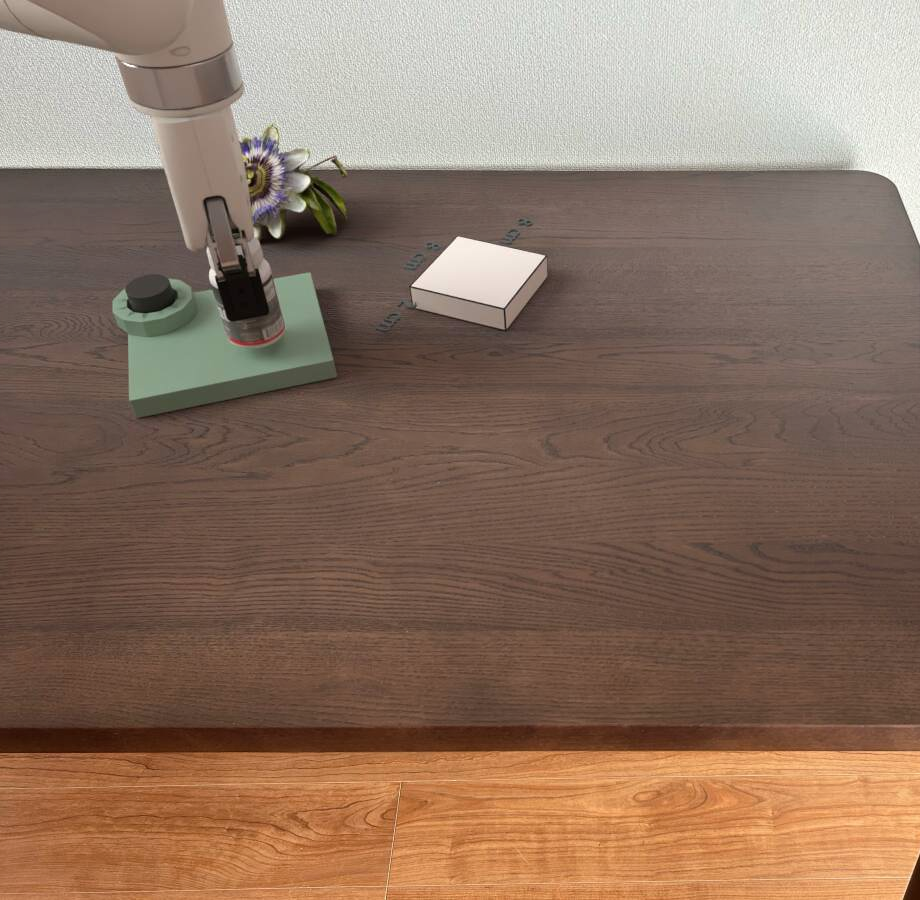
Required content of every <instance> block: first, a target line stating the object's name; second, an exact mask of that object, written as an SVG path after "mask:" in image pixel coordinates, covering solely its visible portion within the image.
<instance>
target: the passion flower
mask: <svg viewBox="0 0 920 900" xmlns="http://www.w3.org/2000/svg"><path fill="white" fill-rule="evenodd" d="M279 134H280V133H279V129H278V128H277V127H276V126H274V123H271V124H270V125H268V126H266V128H265V129H264V131H263V134H262V135H261V136H259V137H257V136H253V138H250V137H248V136H244V137H242V139H241V141H242V142H241V141H240V140H239V143H240V147H241V151H242V156H243V161H244V166H245V171H246V176H247V182H248V189H249V195H250V203H251V210H252V219H253V228H254V237H256V238H257V239H258V241H259V242H261V241H262V239H263V238H264V237H265V236H266V235H265V234H266V231H265V230H266V228H267V229H268V232H269V234H270V235H271V236H272V237H273V238H274V239H276V240H280V239H281V238H282V237H284V236H285V233H286V231H287V230H286V229H287V225H286V224H287V221H286V214H287V212H292V213H297V214H303V213H304V212H305V211H306V210H307V207H308V208H309V211H310V212H311V214H312V216H313V217H314V219H315V220H316V222H317V223H318V225H319V226H320V228H321V230H323V232H324V233H325V234H326V235H332V236H336V235H338V234H337V233H338V229H337V221H336V215H335V213H334V210H333V208H332V205H334V207H335V209H337V211H339V213H340V214H341V215H342V217H343V219H344V221H345V222H347V221H348V217H347V204H346V203H345V200H344V198H343V196H342V195H341V194H340V192H339V191H338V190H336V189H335V188H334V187H333V186H331V185H330V184H328V183H327V182H324V181H323V180H321V179H320V178H319V177H318V176H317V175H314V174H310V172H309V171H310V170H311V169H313V168H316V167H318V166H319V165H321V164H324V163H325V162H328V161H330V162H331V163H333V164H334V165H335V166H336V168H338V170H339V172H340V174H341V177H342V179H344V178H347V177H348V172H347V169H345V167H344V166H343V164H342V163H341V162H340V160H339V159H338V156H337V155H336V154H335V155H332V156H329V157H328V158H326V159H324V160H322V161H321V160H320V161H319V162H317V163H315V164H314V165H312V166H310V167H309V168H306V169H305V170H301V171H300V168H301V167H302V166H303V165H304V164H305V163H306V162H307V161H309V159H310V157H311V151H310V148H308V147H302V148H295V149H292V150H289V151H284V152H283V151H280V147H279V146H280V135H279ZM279 151H280V152H279ZM323 196H325V197H326V198H327V199H328V201H329V202H330V203H331V204H332V205H331V204H330V203H328V202H327V201H326V199H325V198H324V197H323Z"/></svg>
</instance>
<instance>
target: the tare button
mask: <svg viewBox="0 0 920 900" xmlns="http://www.w3.org/2000/svg"><path fill="white" fill-rule="evenodd" d="M169 279H170V278H168V277H167V276H165V275H162V274H157V273H150V274H143V275H140V276H138V277H136V278H134V279H131V281H129V282H128V283H127V284H126V286H125V288H124V289H125V292H126V294H127V297H128V299H129V302H130V304H131V307H132V309H133V310H134V311H135V312H137V313H144V314H147V313H152V312H158V311H161V310H163V309H165V308H167V307H169V306H172V304H173V303H174V302H175V295H174V292H173V290H172V287H171V284H170V281H169Z"/></svg>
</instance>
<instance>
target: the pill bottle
mask: <svg viewBox="0 0 920 900" xmlns="http://www.w3.org/2000/svg"><path fill="white" fill-rule="evenodd" d="M233 235H235V234H233ZM260 242H261V241H258V239H257V238H256V237H253V239H252V240H251V241H250V242H249V243H248V245H249V249H250V253H251V257H252V261H253V264H254V268H255V269H257V268H258V269H259V273H260V277H261V281H262V284H263V288H264V292H265V295H266V299H267V303H268V307H269V314H268V315H266V316H261V317H256V318H250V319H245V320H240V321H234V322H231V321H229V320H228V319H227V316H226V313H225V309H224V306H223V303H222V300H221V296H220V293H219V290H218V286H217V283H216V280H215V276H216V271H215V268H214V264H213V261H212V257H211V253H210V250H209V247H208V246H207V247H206V255H207V259H208V264H209V266H210V269H209V272H208V279H209V283H210V287H211V290H213V293H214V297H215V300H216V303H217V306H218V310H219V313H220V316H221V319H222V322H223V326H224V329H225V332H226V335H227V338H228V340H229V341H230V342H231V343H232V344H233V345H235V346H237V347H240V348H246V349H253V348H261V347H265V346H268V345H271V344H273V343H274V342H276V341H277V340H279V339H280V338H281V336H282V335H283V333H284V331H285V323H284V319H283V315H282V311H281V308H280V304H279V300H278V296H277V292H276V288H275V284H274V280H273V279H274V276H273V273H272V268H271V266H270V265H271V264H270V263H269V262H268V261H267V260H266V258H264V252H263V249H262V246H261V243H260ZM236 250H237V253H238V255H241V254H242V256H243V252H242V249H241V245H239V246H236ZM243 258H244V256H243Z"/></svg>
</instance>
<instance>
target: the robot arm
mask: <svg viewBox="0 0 920 900" xmlns="http://www.w3.org/2000/svg"><path fill="white" fill-rule="evenodd" d="M0 29H1V30H4V31H8V32H12V33H17V34H22V35H26V36H32V37H36V38H40V39H45V40H50V41H59V42H63V43H68V44H74V45H79V46H83V47H88V48H93V49H97V50H101V51H104V52H110V53H113V54H114V57H115V60H116V63H117V66H118V69H119V73H120V75H121V78H122V82H123V85H124V88H125V91H126V94H127V97H128V100H129V103H130V106H131V107H132V108H133V109H134V110H135V111H137V112H138V113H141V114H143V115H146V116H149V117H150V121H151V124H152V128H153V133H154V138H155V142H156V145H157V149H158V153H159V156H160V160H161V163H162V166H163V170H164V174H165V177H166V180H167V183H168V187H169V190H170V194H171V198H172V200H173V204H174V208H175V210H176V215H177V218H178V221H179V224H180V225H179V226H180V229H181V232H182V235H183V239H184V242H185V246H186V248H187V249H188V250H190V251H192V252H193V253H194V252H198V250H204V249H205V246H206V244H207V247H209V250H210V253H211V257H212V261H213V264H214V268H215V271H216V276H215V280H216V283H217V286H218V290H219V293H220V296H221V300H222V303H223V306H224V309H225V313H226V316H227V319H228V320H229V321H231V322H234V321H240V320H245V319H250V318H256V317H261V316H266V315H268V314H269V307H268V303H267V299H266V295H265V292H264V288H263V284H262V281H261V277H260V273H259V269H258V268H257V269H255V268H254V264H253V261H252V257H251V253H250V249H249V245H248V243H249V242H250V241H251V240H252V239H253V237H254V228H253V219H252V210H251V203H250V195H249V189H248V182H247V176H246V171H245V166H244V161H243V156H242V151H241V147H240V143H239V141H240V139H239V135H238V131H237V127H236V123H235V119H234V114H233V110H232V107H231V105H233V104H235V103H236V102H237V101H238V100H240V99H241V98H242V96H243V95H244V93H245V84H244V80H243V77H242V72H241V68H240V64H239V60H238V56H237V51H236V47H235V43H234V40H233V36H232V31H231V27H230V22H229V19H228V15H227V11H226V7H225V4H224V0H0ZM233 234H235V235H233ZM206 242H207V243H206ZM239 245H241V249H242V252H243V256H244V258H243V256H242V254H241V255H238V253H237V250H236V246H239Z"/></svg>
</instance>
